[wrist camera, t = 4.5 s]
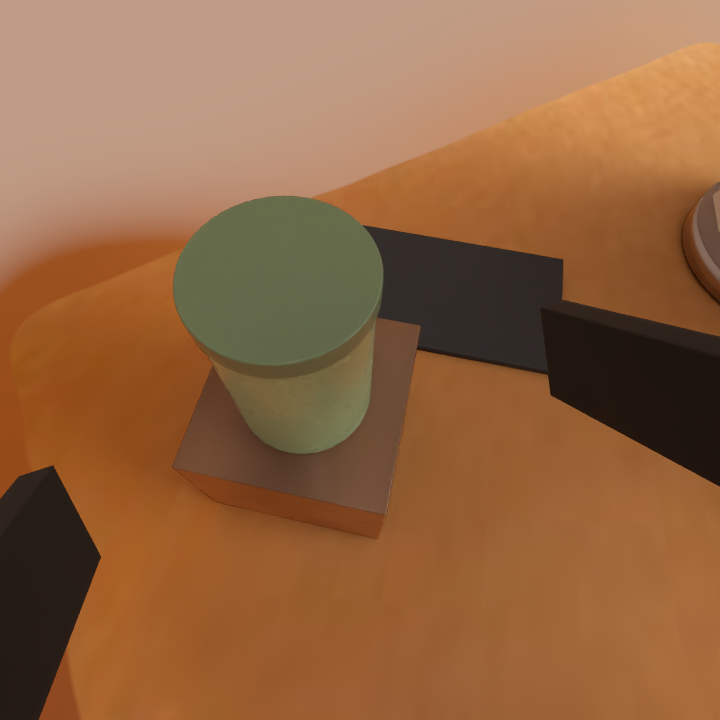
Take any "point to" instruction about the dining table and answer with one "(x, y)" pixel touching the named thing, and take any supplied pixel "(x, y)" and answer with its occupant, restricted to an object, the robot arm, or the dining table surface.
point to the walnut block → (313, 470)
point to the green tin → (286, 316)
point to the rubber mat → (469, 297)
